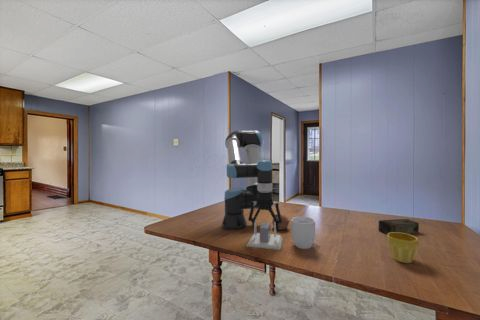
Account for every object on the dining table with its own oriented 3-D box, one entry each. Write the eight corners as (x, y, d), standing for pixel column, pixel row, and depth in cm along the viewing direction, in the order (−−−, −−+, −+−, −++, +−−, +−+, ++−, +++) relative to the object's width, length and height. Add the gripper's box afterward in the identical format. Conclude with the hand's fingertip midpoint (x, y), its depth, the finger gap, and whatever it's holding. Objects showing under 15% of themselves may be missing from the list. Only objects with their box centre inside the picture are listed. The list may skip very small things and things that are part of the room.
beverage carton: (419, 233, 120) (419, 221, 119) (389, 236, 116) (389, 224, 116) (406, 228, 127) (406, 217, 127) (377, 231, 124) (377, 219, 124)
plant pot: (381, 254, 96) (381, 232, 96) (403, 252, 97) (403, 231, 97) (400, 266, 86) (400, 241, 86) (424, 264, 87) (425, 240, 86)
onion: (274, 234, 128) (266, 219, 129) (283, 226, 135) (275, 211, 135) (286, 233, 121) (277, 217, 122) (294, 224, 128) (286, 209, 128)
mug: (304, 238, 115) (304, 213, 115) (324, 244, 107) (324, 218, 106) (286, 246, 106) (286, 219, 105) (306, 254, 97) (306, 225, 97)
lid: (248, 245, 106) (248, 228, 106) (254, 234, 119) (254, 220, 119) (278, 248, 102) (277, 231, 102) (280, 237, 116) (280, 221, 115)
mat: (246, 247, 105) (246, 246, 105) (253, 235, 121) (253, 234, 121) (280, 250, 101) (279, 249, 101) (282, 237, 116) (282, 236, 116)
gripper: (241, 191, 109) (242, 236, 110) (286, 193, 103) (287, 240, 104) (245, 189, 116) (245, 230, 117) (287, 190, 110) (288, 234, 111)
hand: (265, 235), depth 111 cm, fingers open, 9 cm apart
